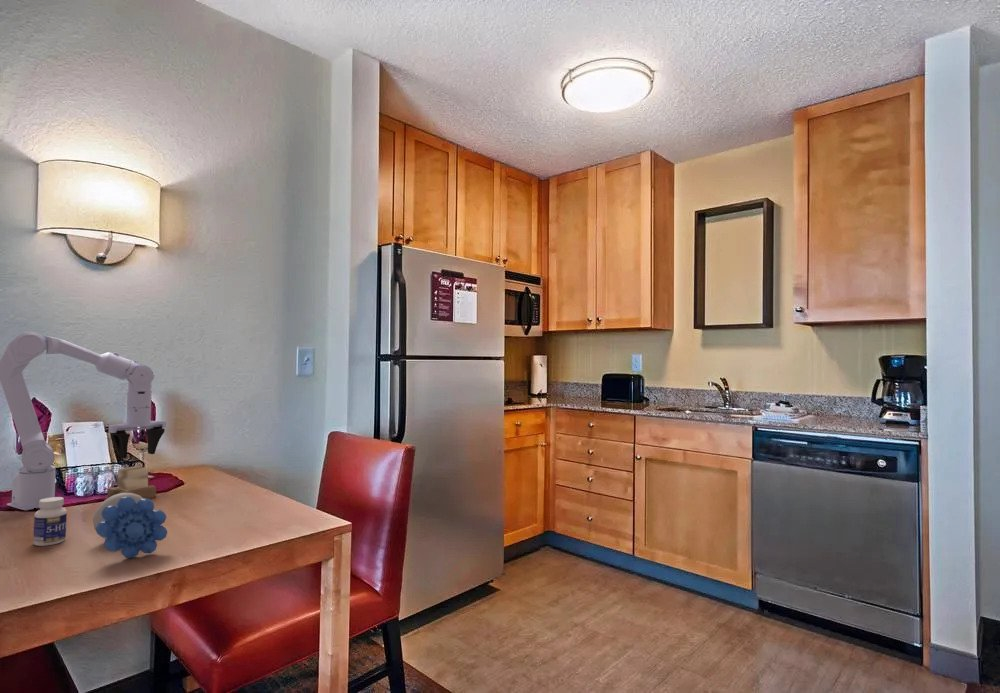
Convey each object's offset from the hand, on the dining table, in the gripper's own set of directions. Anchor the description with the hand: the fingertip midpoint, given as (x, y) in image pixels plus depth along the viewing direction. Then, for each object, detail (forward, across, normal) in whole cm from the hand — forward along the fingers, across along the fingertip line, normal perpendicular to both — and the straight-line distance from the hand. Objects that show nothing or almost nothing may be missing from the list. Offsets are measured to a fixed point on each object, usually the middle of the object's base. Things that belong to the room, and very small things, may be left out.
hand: (137, 455), depth 156 cm
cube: (+7, -4, -5) cm, 10 cm away
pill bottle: (+11, -32, -26) cm, 43 cm away
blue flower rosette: (+11, -29, -50) cm, 59 cm away
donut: (+11, -24, -37) cm, 45 cm away
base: (+10, -4, -5) cm, 12 cm away
